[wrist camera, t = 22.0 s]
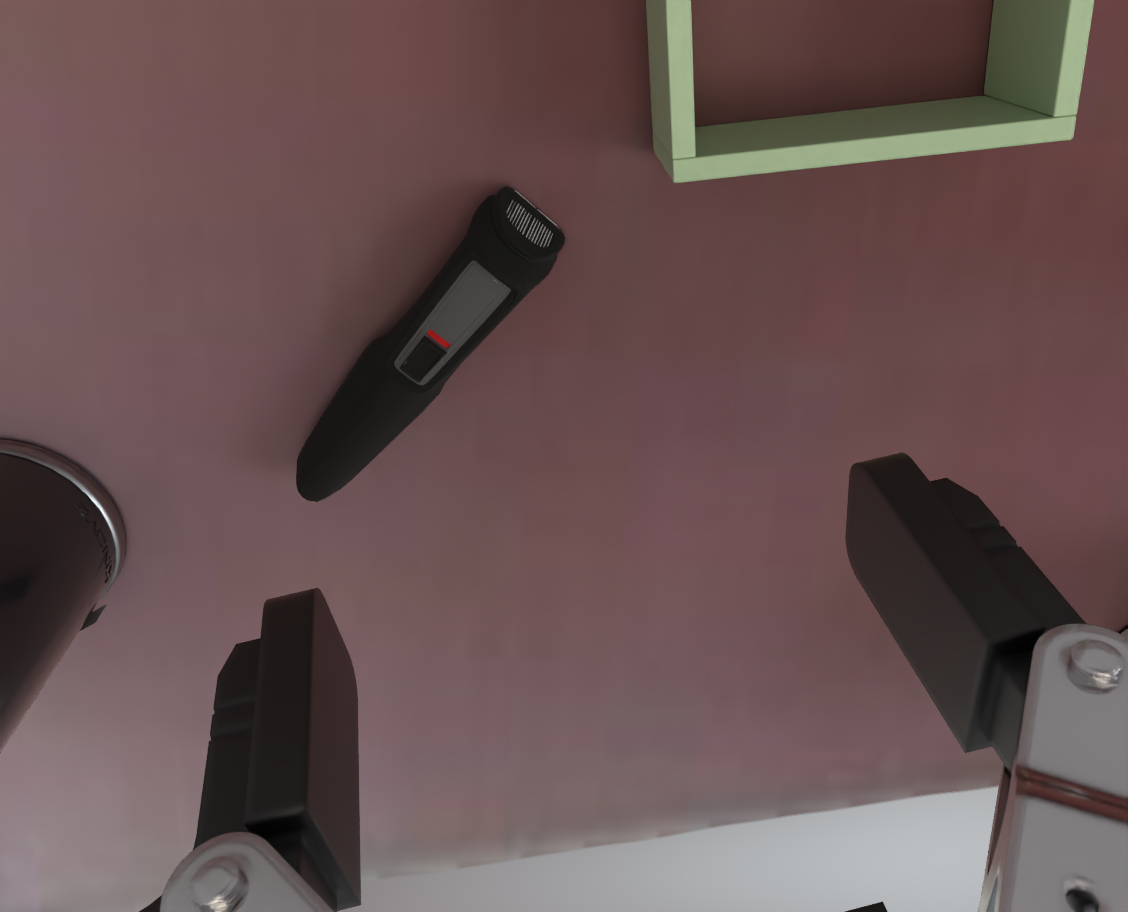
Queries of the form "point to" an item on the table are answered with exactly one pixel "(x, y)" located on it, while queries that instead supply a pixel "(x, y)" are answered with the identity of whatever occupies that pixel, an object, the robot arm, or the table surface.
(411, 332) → the electric trimmer
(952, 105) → the square frame
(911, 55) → the table surface
